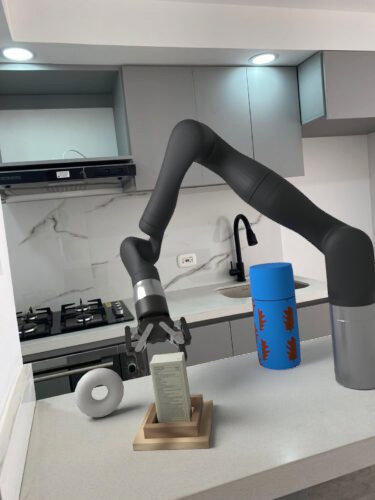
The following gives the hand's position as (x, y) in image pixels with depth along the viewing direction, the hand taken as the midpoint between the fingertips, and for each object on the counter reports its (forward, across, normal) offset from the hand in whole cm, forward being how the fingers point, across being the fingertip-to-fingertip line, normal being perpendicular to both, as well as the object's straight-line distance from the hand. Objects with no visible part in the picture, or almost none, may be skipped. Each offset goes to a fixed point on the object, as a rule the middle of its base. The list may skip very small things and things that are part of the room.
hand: (163, 367), depth 74 cm
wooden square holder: (+12, 0, +1) cm, 12 cm away
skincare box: (+11, 0, 0) cm, 11 cm away
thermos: (-1, +31, +14) cm, 34 cm away
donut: (+4, -13, +8) cm, 16 cm away
